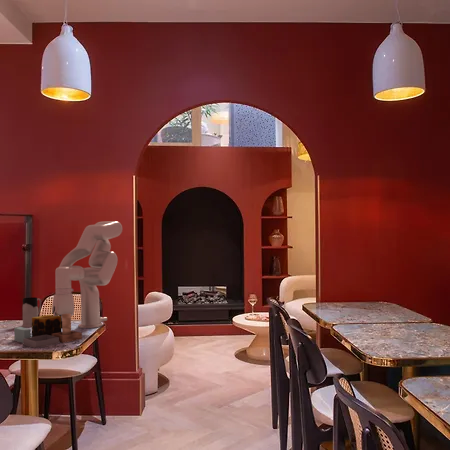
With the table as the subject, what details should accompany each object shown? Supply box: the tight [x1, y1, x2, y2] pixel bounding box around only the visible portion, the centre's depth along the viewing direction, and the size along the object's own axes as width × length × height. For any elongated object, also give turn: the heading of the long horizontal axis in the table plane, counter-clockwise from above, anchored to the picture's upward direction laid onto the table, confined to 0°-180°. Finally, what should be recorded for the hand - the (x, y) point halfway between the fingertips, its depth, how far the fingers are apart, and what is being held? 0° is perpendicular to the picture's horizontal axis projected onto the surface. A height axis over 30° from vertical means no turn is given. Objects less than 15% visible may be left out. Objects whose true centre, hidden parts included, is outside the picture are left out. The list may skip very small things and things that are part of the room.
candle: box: [31, 314, 62, 337], centre depth 239 cm, size 10×10×10 cm
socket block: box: [52, 330, 83, 344], centre depth 232 cm, size 10×10×3 cm
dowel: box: [61, 314, 72, 335], centre depth 232 cm, size 4×4×12 cm
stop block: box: [13, 326, 32, 344], centre depth 230 cm, size 3×10×6 cm, turn 48°
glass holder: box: [21, 297, 42, 328], centre depth 274 cm, size 9×14×15 cm, turn 167°
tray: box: [23, 335, 60, 349], centre depth 223 cm, size 11×11×3 cm
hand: (63, 328), depth 246 cm, fingers closed
